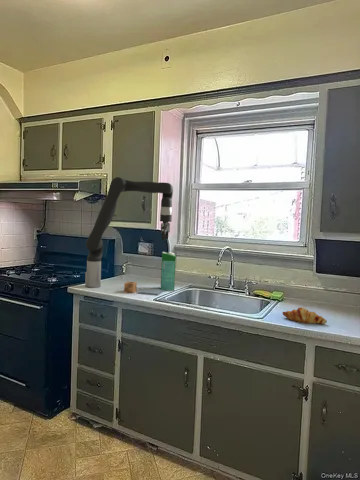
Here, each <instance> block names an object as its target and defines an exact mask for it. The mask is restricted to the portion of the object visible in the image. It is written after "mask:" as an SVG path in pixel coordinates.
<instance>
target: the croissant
mask: <svg viewBox="0 0 360 480" xmlns="http://www.w3.org/2000/svg"><path fill="white" fill-rule="evenodd" d="M282 315H283V317H285V318H287V319H289V320H291V321H293V320H294V321H293V322H296V321H297V323H302V322H303V323H302V324H310V323H311V324H313V323H318V324H319V323H320V325H325V324H326V323H328V321H327V319H325V318H324V317H323V316H322V315H319V314H318V313H316V312H315V311H310V310H308V309H307V308H305V307H298V308H297V309H292V310H286V311H282Z"/></svg>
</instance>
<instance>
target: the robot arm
mask: <svg viewBox="0 0 360 480" xmlns="http://www.w3.org/2000/svg"><path fill="white" fill-rule="evenodd" d="M108 188H109V189H108V191H107V194H106V197H105V199H104V201H103V203H102V206H101V208H100V211H99V212H98V215H97V217H96V220H95V223H94V226H93V228H92V230H91V232H90V234H89V236H88V238H87V239H86V242H85V246H86V249H87V250H88V255H87V257H86V271H85V274H84V278H85V279H84V281H85V282H84V286H85V287H87V288H94V289H95V288H100V287H101V282H102V281H101V280H102V258H103V252H104V241H103V239H102V237H103V234H104V233H105V231H106V229H108V227H109V225H110V224H111V223H112V221H113V218H114V215H115V213H116V210H117V202H118V201H119V200H118V199H119V197H120V195H121V193H124V192H139V193H147V194H149V193H150V194H157V193H158V194H162V198H161V200H160V213H159V214H160V215H159V221H160V222H161V224H160V234H161V240H162V241H163V240H164V241H165V240H168V239H169V234H170V231H171V227H170V226H171V224H170V223H171V222H172V221H173V220H172V219H173V217H172V216H173V209H172V207H173V195H174V187H173V185H172V184H171V183H169V182H154V181H133V180H128V179H124V178H122V177H118V176H117V177H114V178H113V179H112V180H111V181H110V185H109V187H108Z"/></svg>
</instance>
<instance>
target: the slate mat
mask: <svg viewBox="0 0 360 480" xmlns="http://www.w3.org/2000/svg"><path fill="white" fill-rule="evenodd" d="M163 292H164V290H162V289H161V288H149V287H144V288H142V289H140V290H139V291H138V292H137V294H139V295H149V296H150V295H151V296H152V295H153V296H159V295H161V294H162V293H163Z"/></svg>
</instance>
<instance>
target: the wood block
mask: <svg viewBox="0 0 360 480" xmlns="http://www.w3.org/2000/svg"><path fill="white" fill-rule="evenodd" d="M137 285H138V282H136V281H126V282H124V286H123V288H124V290H123V293H126V294H134V293H137V288H138V287H137Z"/></svg>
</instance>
